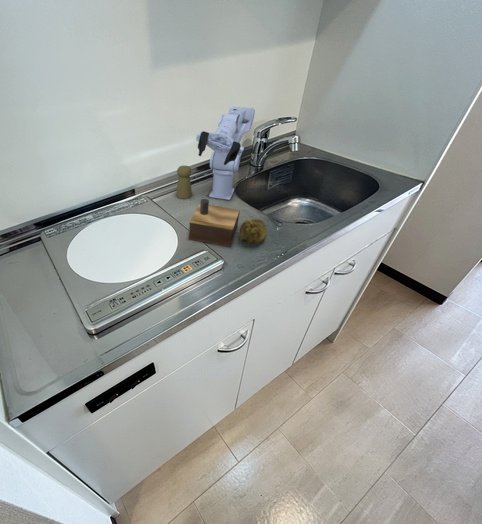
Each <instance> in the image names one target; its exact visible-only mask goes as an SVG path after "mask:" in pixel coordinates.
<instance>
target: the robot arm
mask: <svg viewBox="0 0 482 524" xmlns="http://www.w3.org/2000/svg"><path fill="white" fill-rule="evenodd" d="M229 109H230V110H228V113H220V118H219V121H218V123H217V128H216V131H215V132H208V131H205V130H203V131H198V132H197V134H196V137H195V141H196V142H198V143H197V149H198V157H202V155H203V153H204V151H205V150H206V147H208V148H210V149H211V150H212V153H211V155H210V158H209V168H210V170H211V171H212V173H213V180H212V189H211V191H210V193H209V195H208V197H209V198H212V199H213V198H214V199H219V200H226V201H230V200H231V199H232V196H233V194H234V192H235V188H234V187H233V184H234V178H235V177H234V175H235V173H237V172H238V171H239V168H240V167H239V166H240V163H241V157H242V154H243V152H244V149H245V146H242V145H241V141H242V139H243V137H244V135H245V134H246V133H248V132H250V130H251V129H252V126H253V123H254V119H255V113H256V109H255V107H244V106H243V107H241V106H233V107H229Z"/></svg>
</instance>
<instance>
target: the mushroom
mask: <svg viewBox="0 0 482 524" xmlns="http://www.w3.org/2000/svg"><path fill="white" fill-rule="evenodd" d="M176 173H177V176H178V177H177V178H178V179H177V186H176V193H175V196H176V197H177V198H179V199H183V200H186V199H190V198H191V197H192V196H193V193H192V183H191V175H192V168H191V166H189V165H180V166H178V168H177V169H176Z"/></svg>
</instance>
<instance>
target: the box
mask: <svg viewBox="0 0 482 524" xmlns="http://www.w3.org/2000/svg"><path fill="white" fill-rule="evenodd" d="M209 206H213V207H219V208H226V209H232V210H238V211H239V215H238V217H237V220H236V223H235V226H234V228H232V227H226V226H221V225H215V224H209V223H204V222H198V221H192V220H191V219H189V227H188V229H189V230H188V231H189V232H188V236H189V237H188V240H190V241H195V242H200V243H205V244H210V245H214V246H215V245H216V246H220V247H225V248H231V247H232V244H233V241H234V239H235V235H236V233H237V230H238V227H239V226H238V224H239V218H240V213H241V211H240V210H241V209H238V208H231V207H225V206H219V205H213V204H209Z"/></svg>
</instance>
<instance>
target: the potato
mask: <svg viewBox="0 0 482 524" xmlns="http://www.w3.org/2000/svg"><path fill="white" fill-rule="evenodd" d="M267 235H268V229H267V226H266V223H265V222H264V221H263V220H261V219H259V218H252V219H246V220H245V221H243V222H242V223H241V225H240V227H239V237H240V241H241V243H242V244H246V245H249V246H253V245H254V246H255V245H257V244H261V243H263V242H264V241H265V240H266V239H267Z"/></svg>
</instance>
